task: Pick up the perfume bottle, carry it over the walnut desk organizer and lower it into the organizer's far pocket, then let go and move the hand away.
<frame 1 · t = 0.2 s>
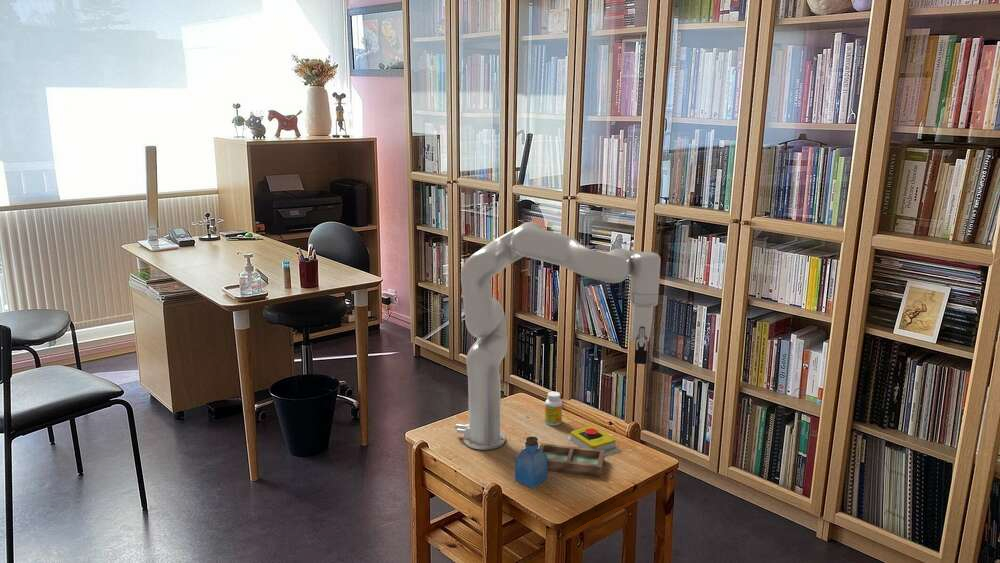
hand: (640, 357, 199), 31 cm above the table, tool pointing down, fingers open, 9 cm apart
emergency button: (593, 446, 216), on the table
supplement bottle: (553, 422, 230), on the table
organizer: (569, 464, 203), on the table
perfume bottle: (531, 480, 195), on the table
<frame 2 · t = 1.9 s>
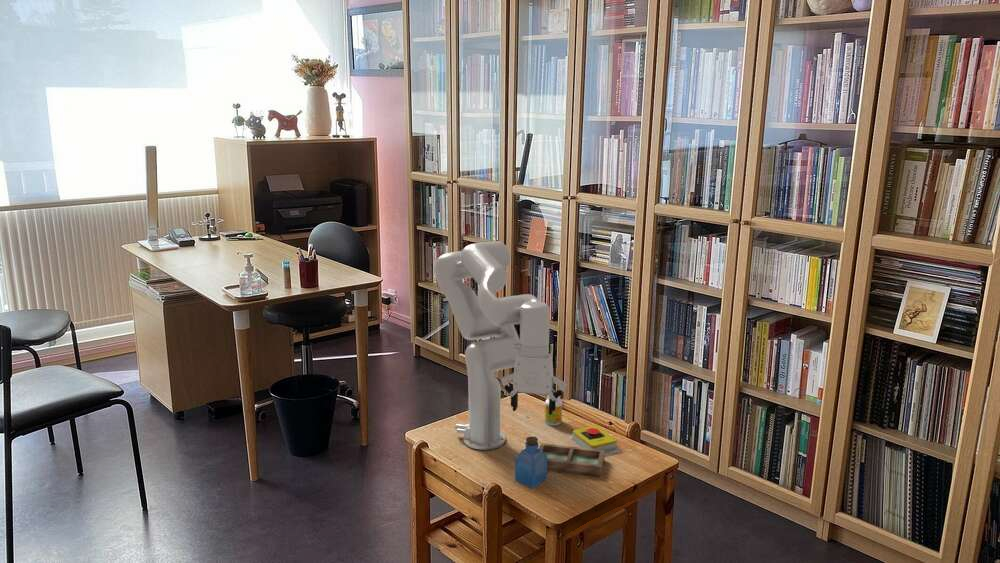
hand: (533, 410, 190), 20 cm above the table, tool pointing down, fingers open, 9 cm apart
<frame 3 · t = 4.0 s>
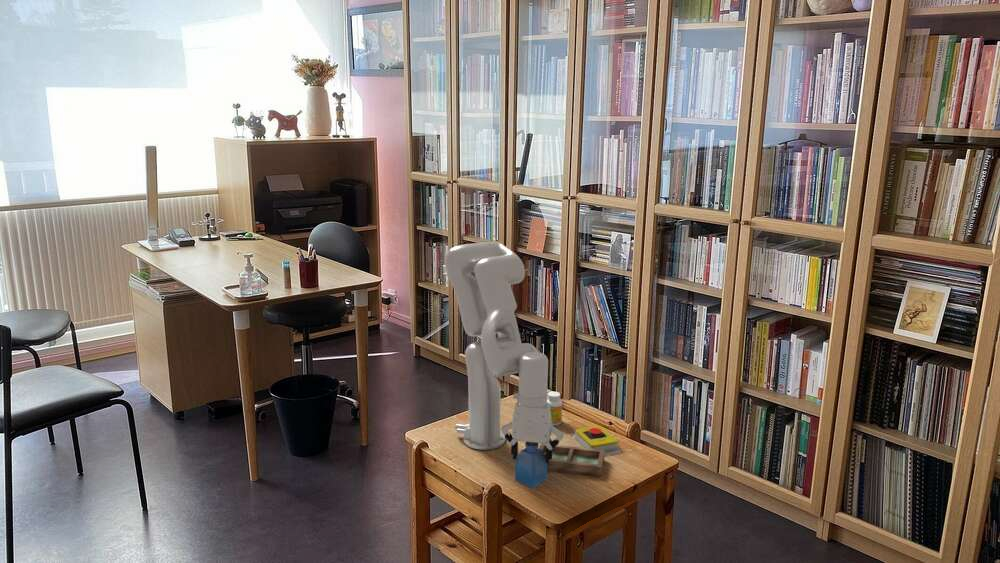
hand: (531, 459, 194), 6 cm above the table, tool pointing down, fingers closed on perfume bottle, 8 cm apart
perfume bottle: (531, 480, 195), on the table, touching gripper
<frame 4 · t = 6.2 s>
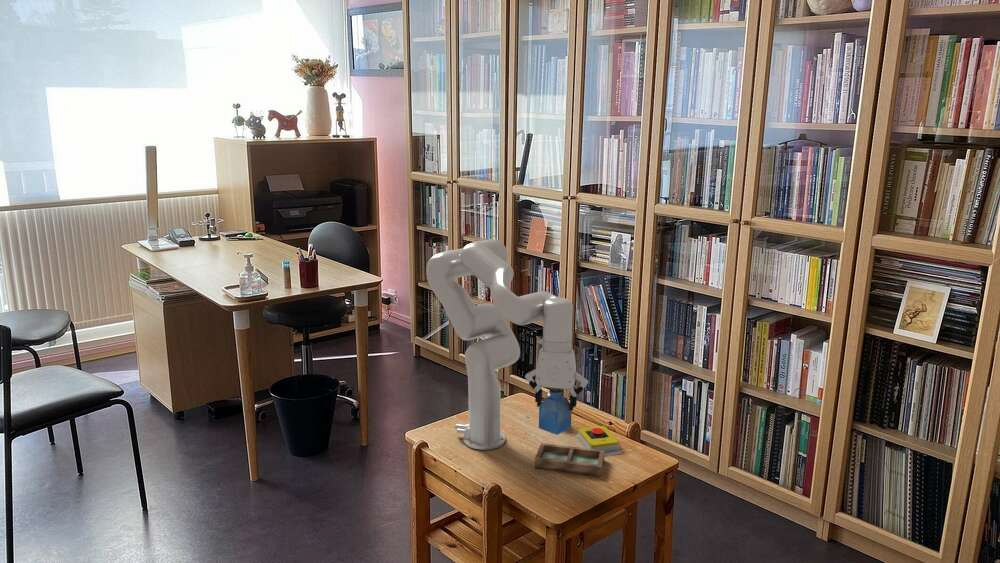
hand: (555, 406, 193), 20 cm above the table, tool pointing down, fingers closed on perfume bottle, 8 cm apart
perfume bottle: (554, 428, 194), point 14 cm above the table, touching gripper
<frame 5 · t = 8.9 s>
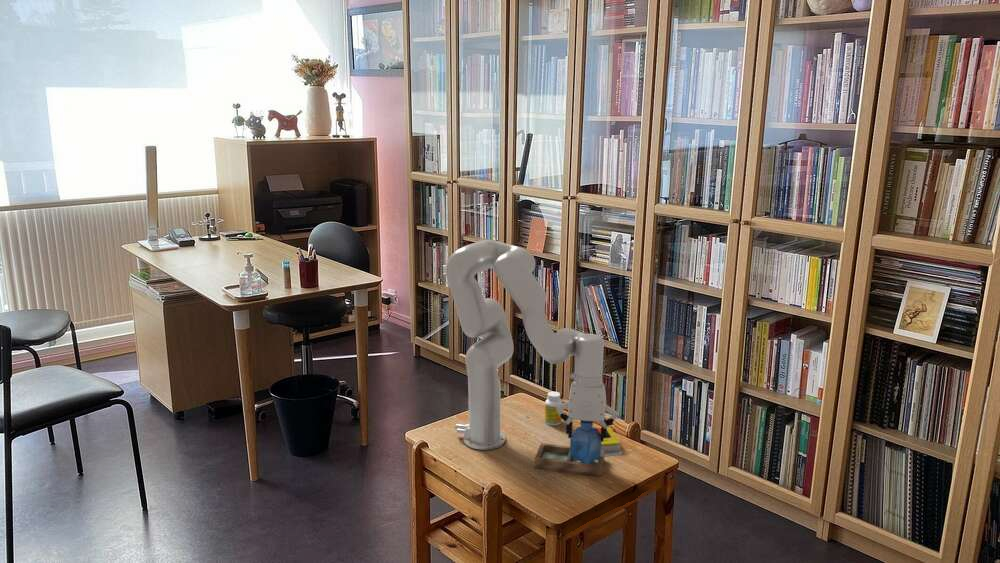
hand: (586, 437, 200), 9 cm above the table, tool pointing down, fingers closed on perfume bottle, 8 cm apart
perfume bottle: (585, 457, 202), point 3 cm above the table, touching gripper, organizer
when the fingers open (8 cm above the table, at t = 10.1 s): perfume bottle stays where it is, resting on organizer.
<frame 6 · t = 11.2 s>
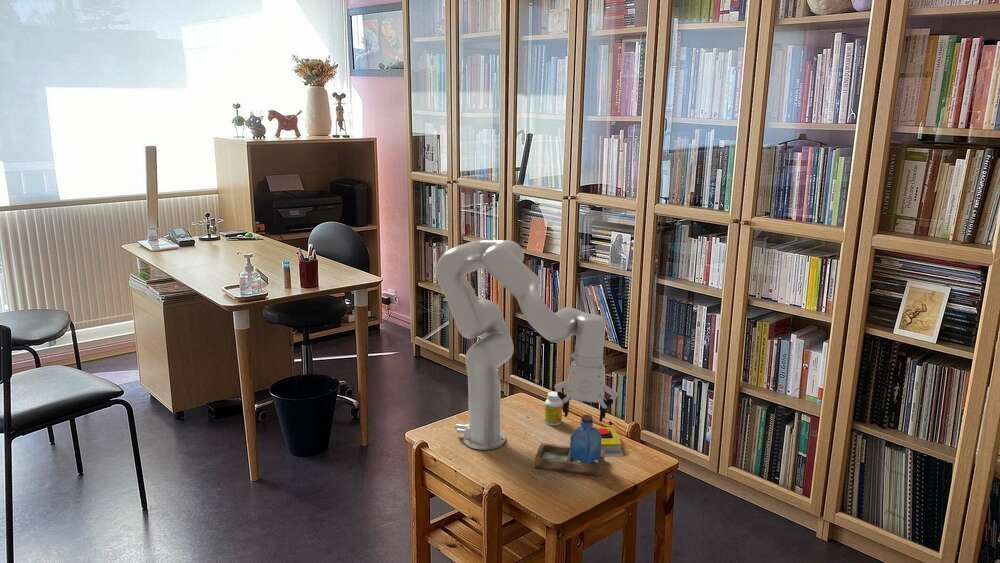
hand: (583, 417, 199), 15 cm above the table, tool pointing down, fingers open, 9 cm apart
perfume bottle: (585, 457, 202), point 3 cm above the table, touching organizer
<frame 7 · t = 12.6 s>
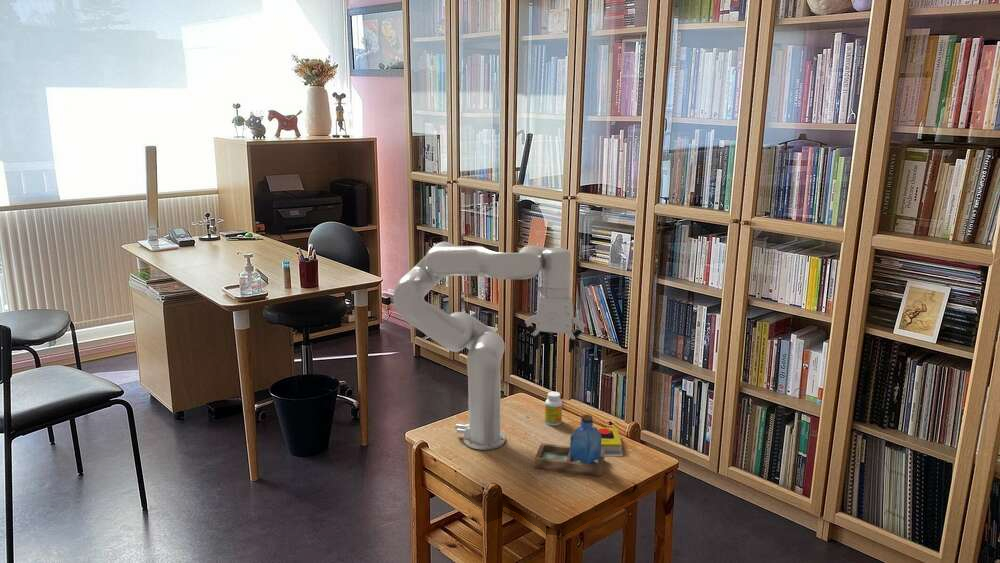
hand: (553, 349, 207), 30 cm above the table, tool pointing down, fingers open, 9 cm apart
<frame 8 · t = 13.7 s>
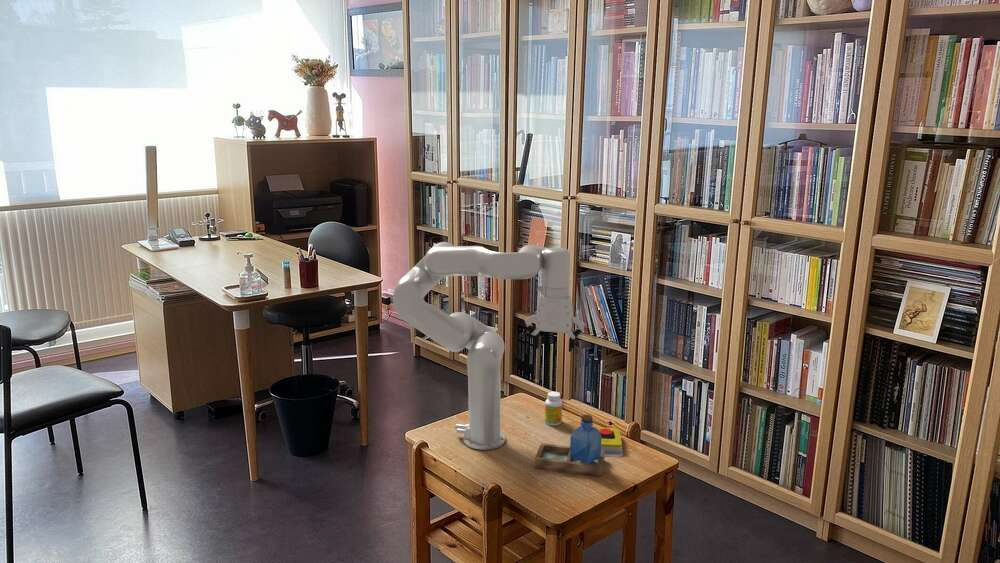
hand: (553, 349, 207), 30 cm above the table, tool pointing down, fingers open, 9 cm apart
at the end: perfume bottle 0.1 cm from the target spot on the organizer, point 2.8 cm above the organizer's base; perfume bottle tilted 0°; the gripper is holding nothing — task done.
